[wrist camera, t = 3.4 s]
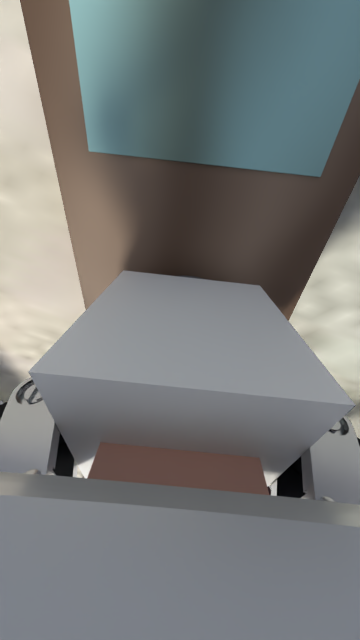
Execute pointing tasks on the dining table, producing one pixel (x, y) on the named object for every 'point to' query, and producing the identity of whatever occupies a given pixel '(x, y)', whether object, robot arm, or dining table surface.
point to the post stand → (200, 134)
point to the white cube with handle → (187, 386)
